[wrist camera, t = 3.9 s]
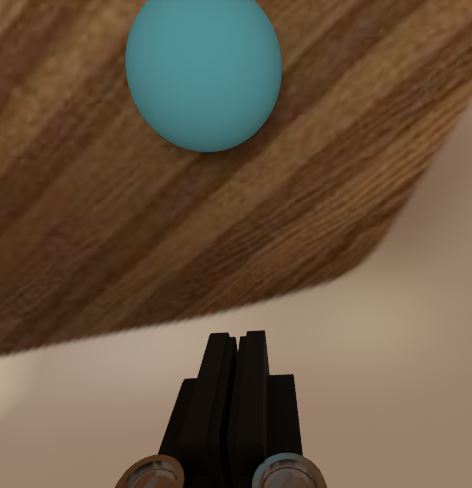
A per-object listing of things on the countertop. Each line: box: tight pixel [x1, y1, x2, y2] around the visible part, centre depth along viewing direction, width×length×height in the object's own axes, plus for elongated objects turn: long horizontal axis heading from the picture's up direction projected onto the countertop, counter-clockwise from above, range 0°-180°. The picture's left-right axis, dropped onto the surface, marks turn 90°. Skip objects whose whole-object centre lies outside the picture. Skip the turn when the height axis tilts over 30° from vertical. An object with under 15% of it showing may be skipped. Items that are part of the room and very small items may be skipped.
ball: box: [125, 0, 282, 152], centre depth 13 cm, size 6×6×6 cm
